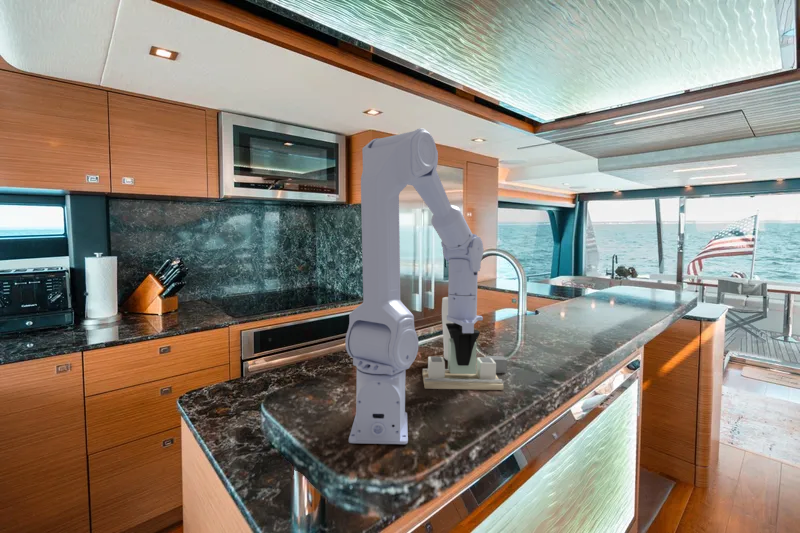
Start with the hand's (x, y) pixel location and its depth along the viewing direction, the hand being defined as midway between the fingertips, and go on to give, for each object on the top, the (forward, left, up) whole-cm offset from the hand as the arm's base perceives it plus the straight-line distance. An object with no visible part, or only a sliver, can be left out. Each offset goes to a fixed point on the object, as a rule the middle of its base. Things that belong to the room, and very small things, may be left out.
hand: (461, 361), depth 75 cm
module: (0, 0, -2) cm, 2 cm away
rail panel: (0, 0, -4) cm, 4 cm away
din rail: (0, 0, -4) cm, 4 cm away
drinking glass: (+16, -1, -4) cm, 17 cm away
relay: (+8, -9, -4) cm, 13 cm away
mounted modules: (0, 0, -3) cm, 3 cm away
